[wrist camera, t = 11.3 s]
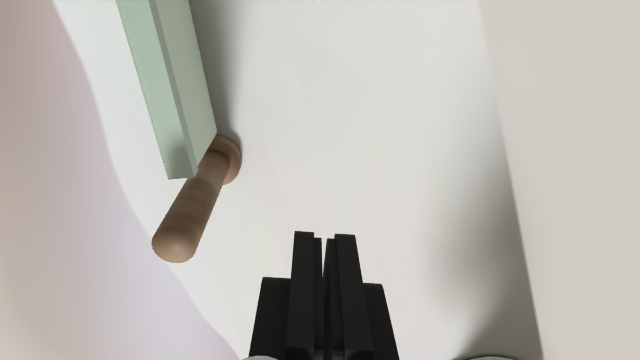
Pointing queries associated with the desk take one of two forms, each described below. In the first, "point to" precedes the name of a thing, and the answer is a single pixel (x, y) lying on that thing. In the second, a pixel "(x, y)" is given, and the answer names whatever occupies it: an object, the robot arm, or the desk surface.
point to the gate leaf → (171, 80)
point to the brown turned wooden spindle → (196, 202)
